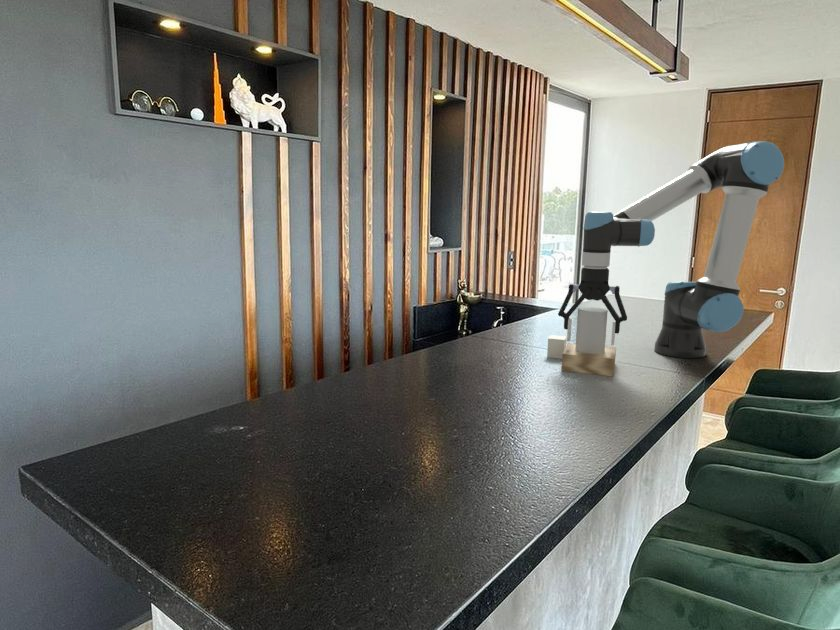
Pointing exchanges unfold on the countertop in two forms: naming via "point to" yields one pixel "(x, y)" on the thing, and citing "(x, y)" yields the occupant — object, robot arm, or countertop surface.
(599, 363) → the oak block
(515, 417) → the countertop surface
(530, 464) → the countertop surface
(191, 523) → the countertop surface
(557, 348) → the cream block
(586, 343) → the grey cylinder
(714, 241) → the robot arm
